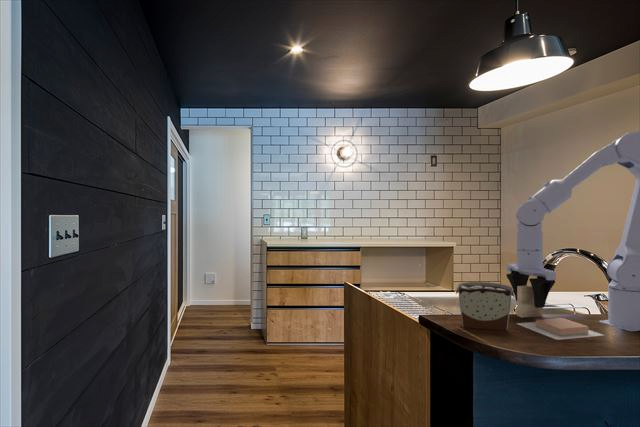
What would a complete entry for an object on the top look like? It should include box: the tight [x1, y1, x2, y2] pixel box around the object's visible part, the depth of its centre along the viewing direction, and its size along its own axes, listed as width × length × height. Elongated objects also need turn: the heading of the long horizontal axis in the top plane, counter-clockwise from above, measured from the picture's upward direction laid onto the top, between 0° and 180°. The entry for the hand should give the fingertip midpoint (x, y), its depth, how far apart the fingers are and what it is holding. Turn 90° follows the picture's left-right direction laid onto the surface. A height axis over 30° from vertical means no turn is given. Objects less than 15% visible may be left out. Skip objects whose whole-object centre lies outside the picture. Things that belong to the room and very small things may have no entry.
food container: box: [455, 281, 515, 331], centre depth 93 cm, size 12×6×10 cm, turn 74°
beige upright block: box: [516, 284, 544, 318], centre depth 101 cm, size 6×2×8 cm, turn 102°
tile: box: [535, 317, 589, 336], centre depth 89 cm, size 7×2×7 cm
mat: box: [516, 321, 606, 341], centre depth 90 cm, size 12×12×1 cm
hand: (529, 304), depth 101 cm, fingers open, 6 cm apart
